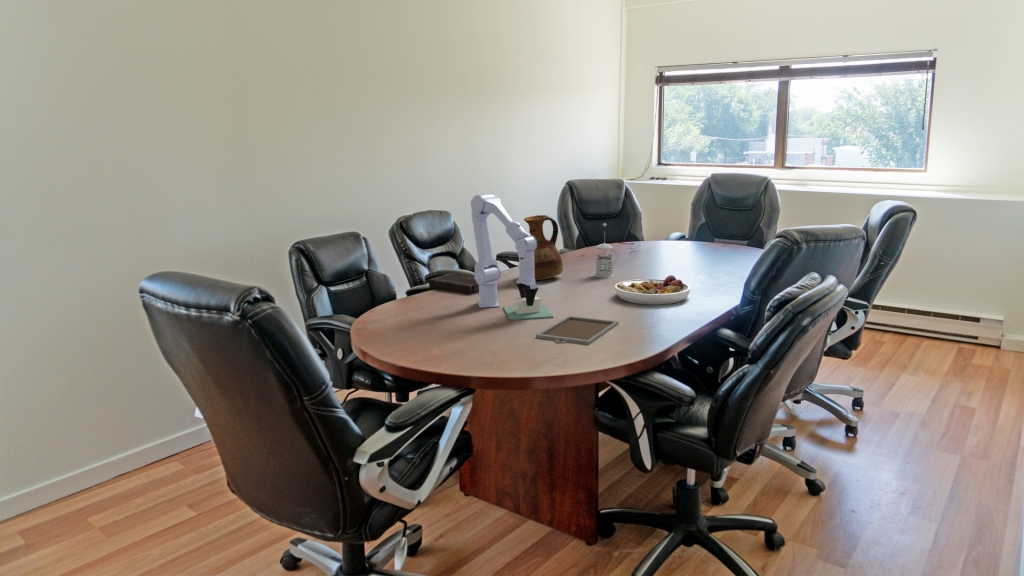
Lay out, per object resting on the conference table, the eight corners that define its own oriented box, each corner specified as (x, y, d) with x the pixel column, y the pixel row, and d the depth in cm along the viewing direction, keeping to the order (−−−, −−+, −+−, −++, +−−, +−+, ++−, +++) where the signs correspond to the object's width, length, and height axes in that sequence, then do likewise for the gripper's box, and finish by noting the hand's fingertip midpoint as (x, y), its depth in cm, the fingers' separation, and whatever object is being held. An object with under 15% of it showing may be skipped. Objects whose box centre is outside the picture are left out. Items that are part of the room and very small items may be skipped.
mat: (503, 308, 268) (503, 307, 268) (543, 306, 270) (543, 304, 270) (510, 320, 251) (510, 318, 250) (553, 317, 253) (553, 316, 253)
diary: (470, 296, 293) (469, 285, 292) (429, 289, 308) (428, 278, 307) (498, 288, 307) (498, 277, 306) (457, 281, 322) (457, 271, 321)
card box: (536, 309, 264) (536, 296, 263) (540, 311, 260) (540, 298, 258) (514, 311, 261) (513, 298, 260) (517, 314, 257) (517, 301, 256)
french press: (590, 274, 330) (590, 222, 325) (612, 272, 334) (613, 221, 328) (599, 278, 321) (599, 225, 316) (621, 276, 324) (622, 223, 319)
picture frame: (618, 321, 242) (586, 343, 217) (618, 325, 243) (586, 348, 217) (569, 315, 251) (531, 336, 226) (569, 319, 252) (532, 341, 226)
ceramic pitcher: (513, 276, 328) (512, 214, 322) (550, 272, 337) (550, 211, 330) (532, 284, 311) (531, 218, 305) (570, 279, 319) (570, 215, 313)
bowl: (658, 310, 260) (658, 290, 259) (599, 298, 283) (599, 279, 281) (704, 297, 279) (705, 279, 278) (646, 287, 302) (646, 269, 300)
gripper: (510, 266, 262) (511, 300, 265) (522, 272, 249) (523, 309, 252) (528, 264, 264) (528, 299, 267) (541, 271, 251) (541, 307, 254)
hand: (527, 303), depth 260 cm, fingers open, 6 cm apart
